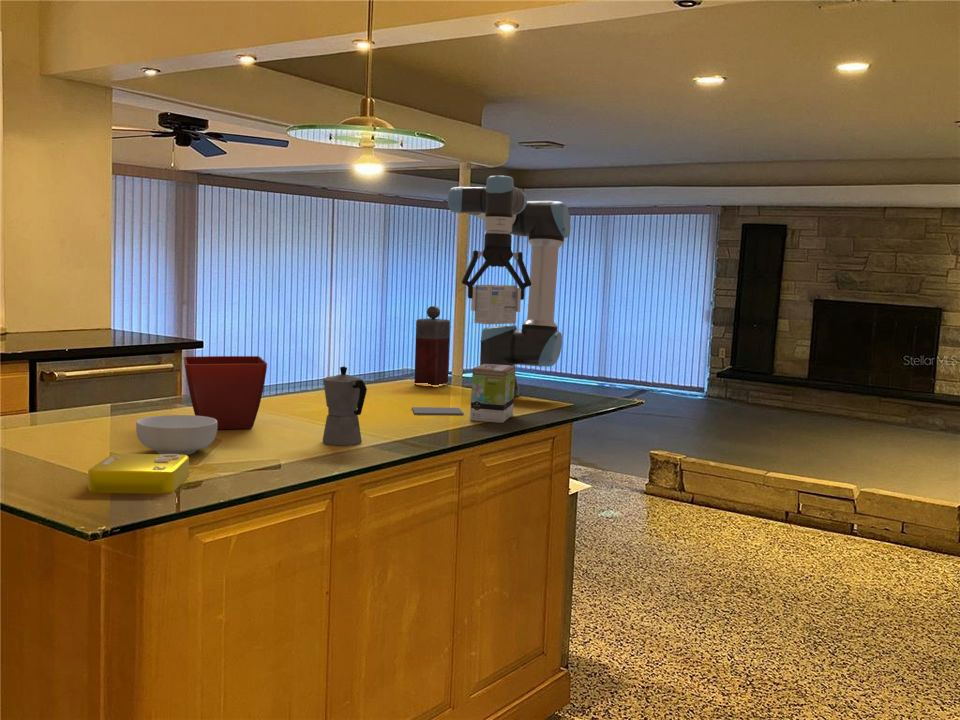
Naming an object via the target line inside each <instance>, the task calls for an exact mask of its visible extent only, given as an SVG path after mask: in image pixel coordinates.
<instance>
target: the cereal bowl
mask: <svg viewBox="0 0 960 720" xmlns="http://www.w3.org/2000/svg"><path fill="white" fill-rule="evenodd" d="M217 425H218V424H217V420H216V419H214V418H211V417H205V416H195V414H192V415H191V414H189V415H188V414H168V415H166V414H165V415H153V416H147V417H142V418H139V419H138V420H136V423H135V426H136V427H135V430H136V436H137V439H138V441H140V443H141V444H142V445H143V446H145V447H146V448H148V449H151V450H153V451H155V452H156V453H157V454H178V455H187V456H189V455H193V454H195V453H197V451H198V450H201V449H204V448H206V447H208V446H210V445H211V444H212V443H213V442H214V440H215V438H216V436H217V433H218V429H217Z"/></svg>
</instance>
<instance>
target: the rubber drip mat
mask: <svg viewBox="0 0 960 720" xmlns="http://www.w3.org/2000/svg"><path fill="white" fill-rule="evenodd" d="M411 411H412V413H413V415H415V416H416V415H418V416H419V415H421V416H425V415H427V416H464V412H463V410H462V409H460V407H442V406H441V407H438V406H436V407H434V406H433V407H431V406H430V407H429V406H428V407H424V406H423V407H422V406H421V407H418V406H417V407H416V406H414V407H413V406H412V407H411Z"/></svg>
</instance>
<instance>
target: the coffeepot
mask: <svg viewBox="0 0 960 720" xmlns="http://www.w3.org/2000/svg"><path fill="white" fill-rule="evenodd" d="M339 370H340V374H335V375H331V376H326V377H324V378H322V379H323V380H322V381H323V387H324V395H325V403H326V404H325V405H326V407H327V409H328V411H327V413H328V414H327V415H326V421H325V424H324V431H323V436H322V442H323V444H325V445H328V446H332V445H334V446H335V447H350V446H349V445H353V446H358V445H360V444H361V443H362V441H363V440H362V434H361V433H362V432H361V428H360V421H359V420H360V419H359V416H360V415H361V414H362V412H363V407H364V403H365V399H366V395H367V391H368V390H367V389H368V388H367V386H366V383H365V382H364V379H362V378H360V377H357V376H353V375H349V374H347V371H348V367H346V366H340V367H339ZM357 444H358V445H357ZM334 446H333V447H334Z"/></svg>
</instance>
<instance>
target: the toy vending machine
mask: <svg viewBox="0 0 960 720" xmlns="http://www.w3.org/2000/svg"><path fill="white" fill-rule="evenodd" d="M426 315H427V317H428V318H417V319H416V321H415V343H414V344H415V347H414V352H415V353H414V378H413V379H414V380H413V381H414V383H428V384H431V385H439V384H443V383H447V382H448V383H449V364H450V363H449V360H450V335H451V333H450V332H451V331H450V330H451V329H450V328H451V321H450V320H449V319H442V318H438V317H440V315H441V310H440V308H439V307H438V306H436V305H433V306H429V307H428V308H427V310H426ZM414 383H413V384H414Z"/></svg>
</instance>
